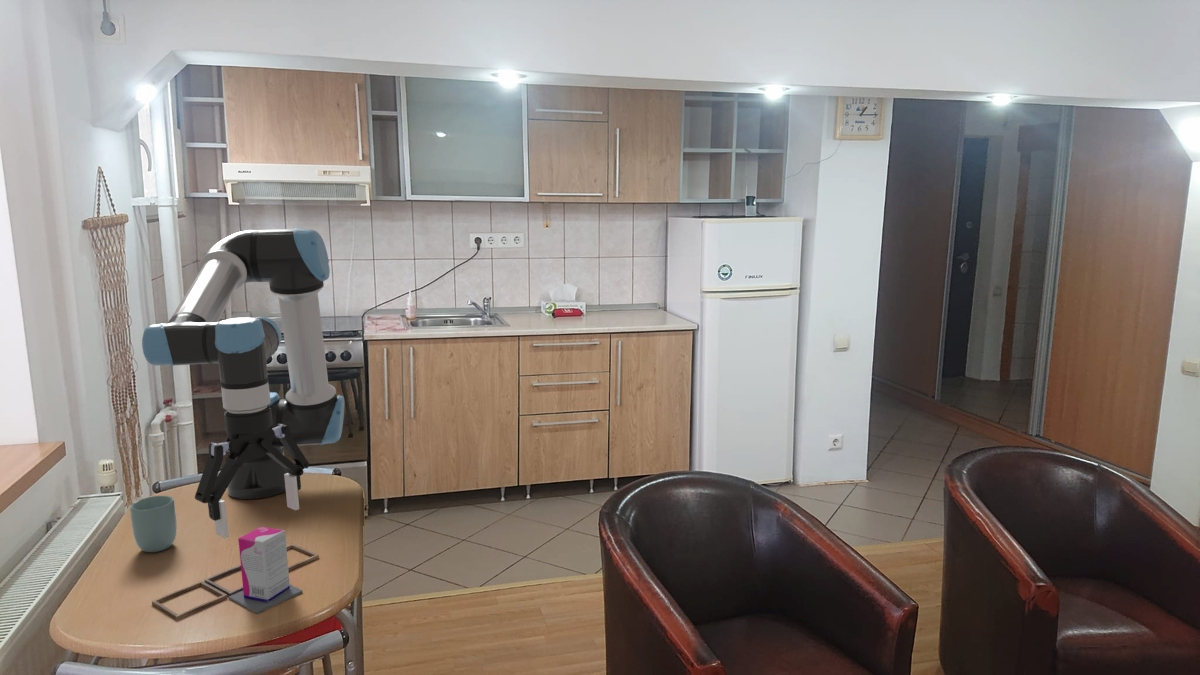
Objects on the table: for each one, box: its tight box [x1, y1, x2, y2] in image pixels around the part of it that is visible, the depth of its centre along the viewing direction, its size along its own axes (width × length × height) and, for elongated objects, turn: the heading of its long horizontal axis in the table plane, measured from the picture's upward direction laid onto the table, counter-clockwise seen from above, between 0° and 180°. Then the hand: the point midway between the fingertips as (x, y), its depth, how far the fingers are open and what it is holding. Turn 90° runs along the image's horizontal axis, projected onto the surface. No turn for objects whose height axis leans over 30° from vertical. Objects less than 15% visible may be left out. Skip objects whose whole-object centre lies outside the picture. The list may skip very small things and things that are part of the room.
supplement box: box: [237, 526, 291, 602], centre depth 142 cm, size 6×6×12 cm
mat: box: [228, 583, 303, 614], centre depth 143 cm, size 9×9×1 cm
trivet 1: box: [151, 580, 229, 621], centre depth 141 cm, size 9×9×1 cm
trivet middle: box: [203, 564, 243, 597], centre depth 149 cm, size 9×9×1 cm
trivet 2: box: [286, 543, 320, 572], centre depth 156 cm, size 9×9×1 cm
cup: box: [129, 495, 178, 553], centre depth 161 cm, size 8×8×10 cm
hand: (259, 521), depth 141 cm, fingers open, 13 cm apart
